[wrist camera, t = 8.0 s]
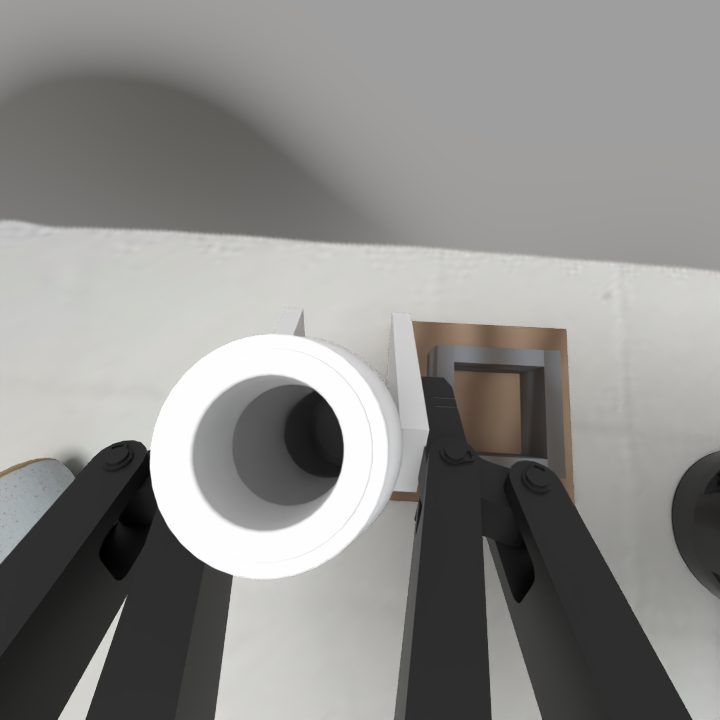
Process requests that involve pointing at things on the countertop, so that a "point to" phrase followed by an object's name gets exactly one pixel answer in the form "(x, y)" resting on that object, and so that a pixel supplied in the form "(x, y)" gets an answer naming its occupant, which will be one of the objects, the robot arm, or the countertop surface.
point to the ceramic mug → (28, 497)
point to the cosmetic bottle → (275, 454)
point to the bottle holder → (504, 391)
